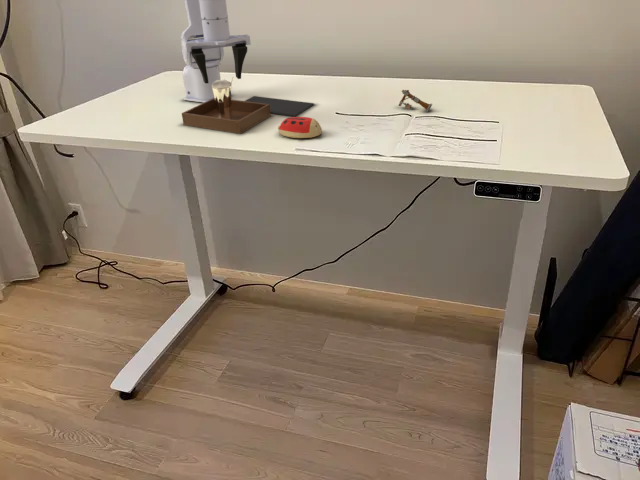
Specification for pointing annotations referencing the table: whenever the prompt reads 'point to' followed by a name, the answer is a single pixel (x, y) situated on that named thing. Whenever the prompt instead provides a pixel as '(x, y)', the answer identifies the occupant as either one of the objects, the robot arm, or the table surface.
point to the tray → (241, 120)
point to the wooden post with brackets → (415, 99)
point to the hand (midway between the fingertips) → (222, 80)
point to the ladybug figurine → (300, 127)
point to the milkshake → (223, 98)
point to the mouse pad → (282, 106)
